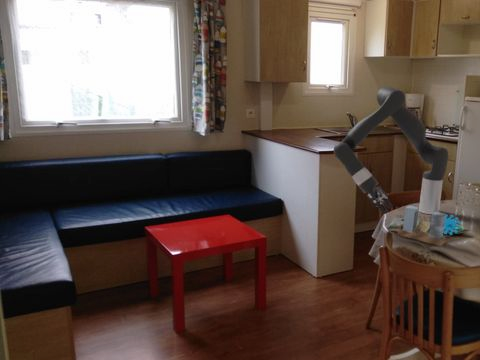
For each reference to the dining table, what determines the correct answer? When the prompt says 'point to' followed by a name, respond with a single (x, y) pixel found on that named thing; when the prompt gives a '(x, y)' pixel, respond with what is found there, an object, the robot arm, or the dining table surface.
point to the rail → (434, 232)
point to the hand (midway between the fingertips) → (388, 209)
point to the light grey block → (410, 218)
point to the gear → (452, 225)
